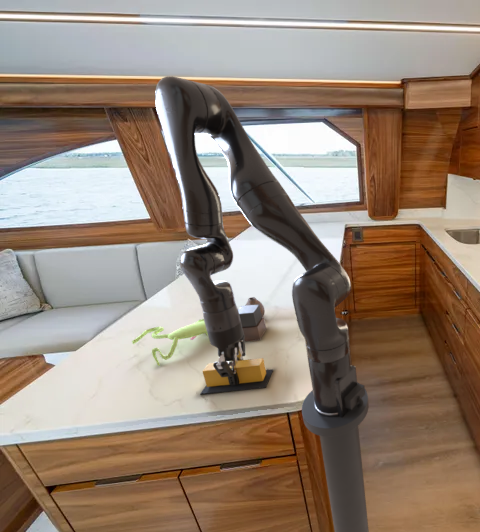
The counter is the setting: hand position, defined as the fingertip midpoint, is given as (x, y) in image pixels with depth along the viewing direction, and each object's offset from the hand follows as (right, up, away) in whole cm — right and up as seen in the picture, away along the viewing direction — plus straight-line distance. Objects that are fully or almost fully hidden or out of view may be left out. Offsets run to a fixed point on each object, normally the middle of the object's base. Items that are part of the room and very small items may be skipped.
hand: (237, 379), depth 79 cm
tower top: (-7, +11, +21) cm, 25 cm away
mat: (0, -1, 0) cm, 1 cm away
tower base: (-7, +7, +22) cm, 24 cm away
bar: (0, 0, 0) cm, 0 cm away
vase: (-11, +10, +33) cm, 36 cm away
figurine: (-28, +5, +20) cm, 34 cm away
